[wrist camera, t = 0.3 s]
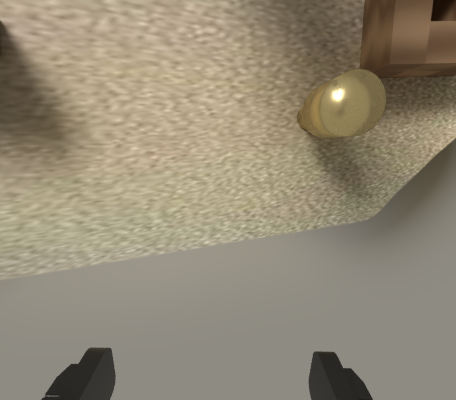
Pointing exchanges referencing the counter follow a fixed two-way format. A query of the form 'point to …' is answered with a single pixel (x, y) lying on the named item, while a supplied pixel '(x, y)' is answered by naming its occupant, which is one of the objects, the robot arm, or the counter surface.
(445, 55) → the walnut block
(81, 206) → the counter surface
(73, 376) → the robot arm
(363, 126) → the brass pin
